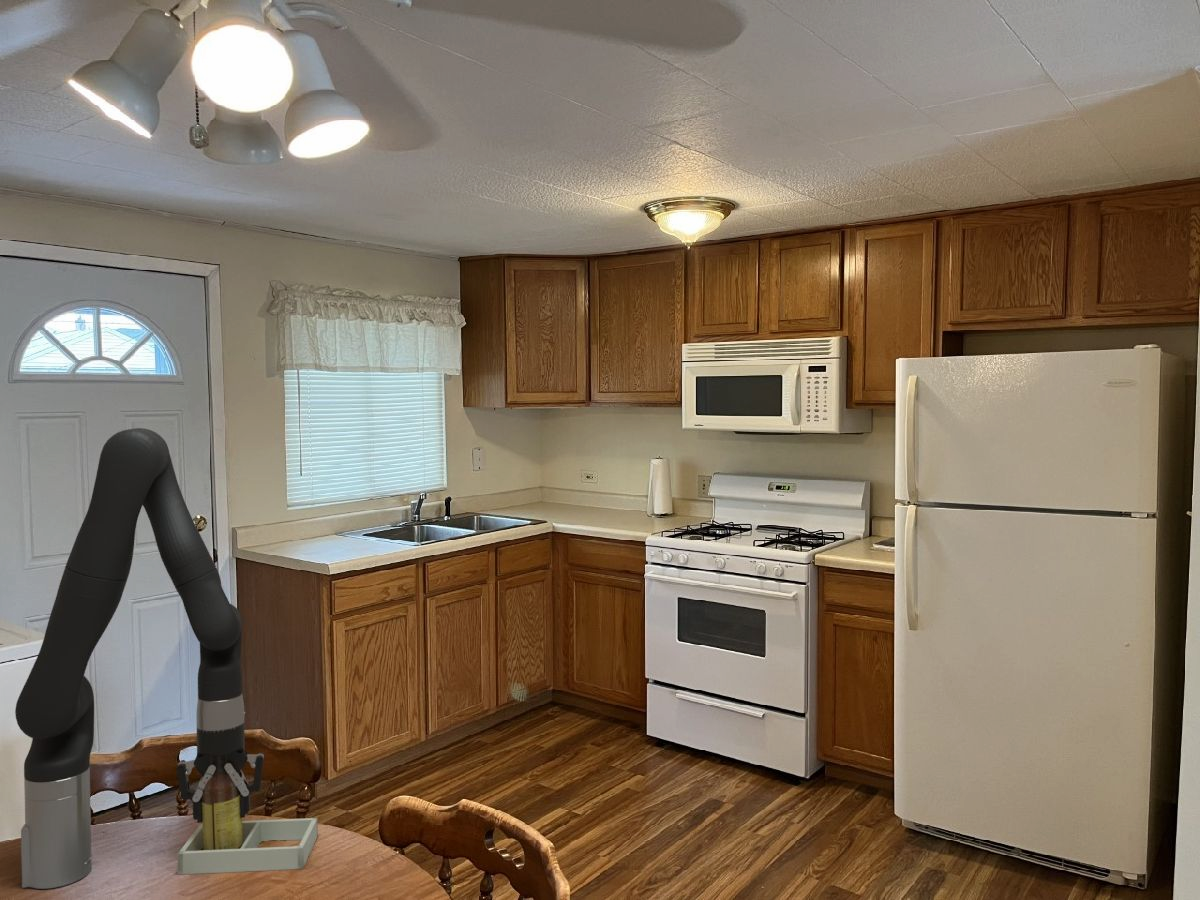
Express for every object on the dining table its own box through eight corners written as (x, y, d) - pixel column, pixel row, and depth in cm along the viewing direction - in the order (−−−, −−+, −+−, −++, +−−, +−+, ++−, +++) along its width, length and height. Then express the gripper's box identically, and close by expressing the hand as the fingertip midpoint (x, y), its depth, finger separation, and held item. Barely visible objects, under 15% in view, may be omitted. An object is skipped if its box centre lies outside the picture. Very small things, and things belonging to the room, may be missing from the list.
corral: (177, 874, 149) (177, 853, 149) (201, 842, 161) (201, 822, 160) (302, 868, 151) (302, 848, 151) (317, 837, 162) (317, 817, 162)
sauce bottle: (249, 848, 158) (248, 736, 157) (231, 866, 152) (230, 749, 151) (213, 847, 159) (212, 734, 158) (194, 864, 152) (193, 747, 152)
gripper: (171, 733, 149) (172, 833, 149) (264, 724, 153) (265, 822, 154) (177, 718, 156) (179, 815, 156) (266, 710, 160) (267, 804, 161)
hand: (221, 818), depth 155 cm, fingers closed on sauce bottle, 6 cm apart
